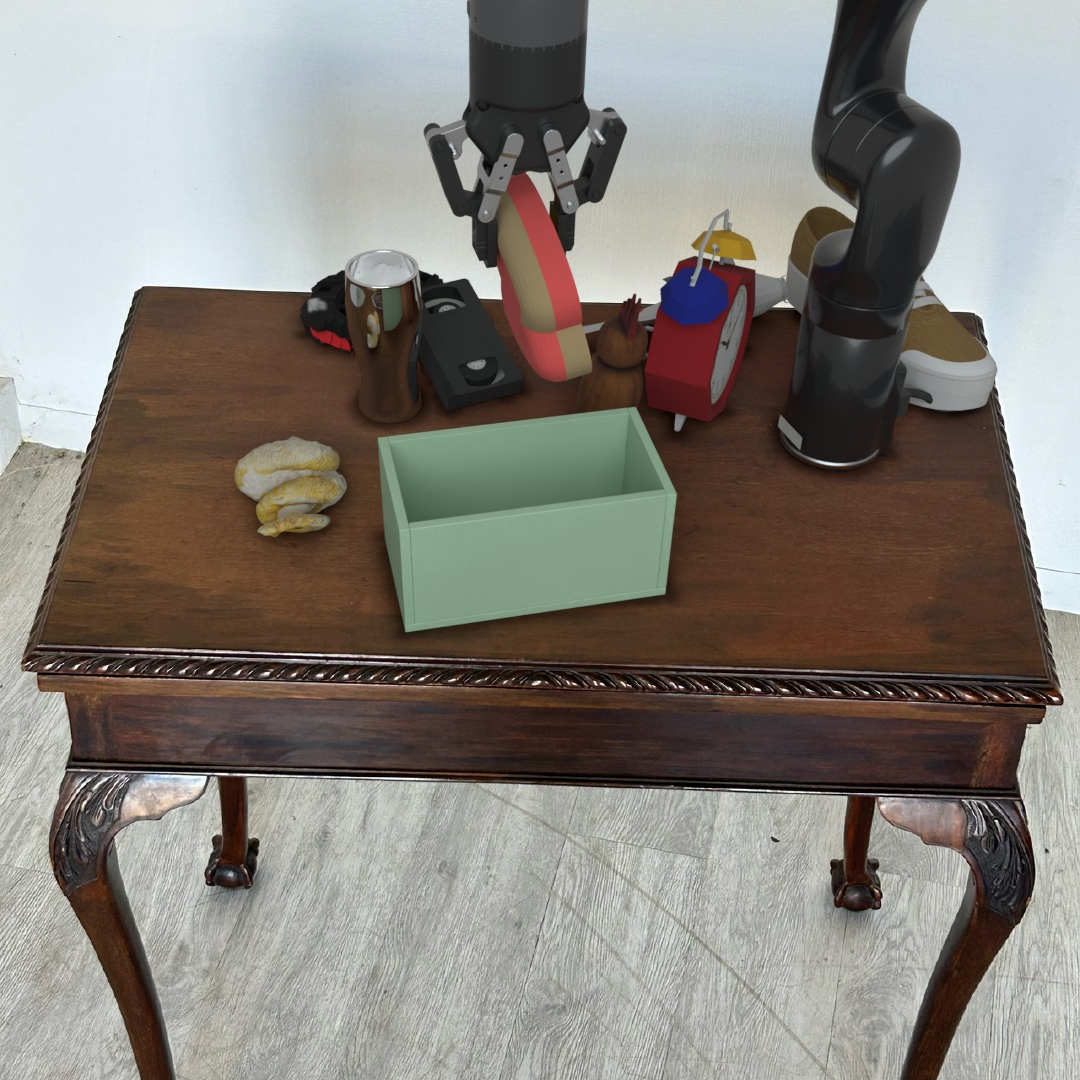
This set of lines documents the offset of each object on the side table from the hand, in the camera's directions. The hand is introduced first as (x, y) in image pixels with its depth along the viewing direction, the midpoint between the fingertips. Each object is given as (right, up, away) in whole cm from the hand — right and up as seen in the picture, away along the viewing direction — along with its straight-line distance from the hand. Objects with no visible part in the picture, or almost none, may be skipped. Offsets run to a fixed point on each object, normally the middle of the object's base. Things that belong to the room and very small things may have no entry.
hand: (523, 257), depth 98 cm
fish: (+17, +3, +38) cm, 42 cm away
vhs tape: (-7, -1, +38) cm, 39 cm away
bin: (0, -22, +17) cm, 28 cm away
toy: (-15, +3, +46) cm, 48 cm away
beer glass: (-13, -7, +34) cm, 37 cm away
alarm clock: (+15, -7, +35) cm, 39 cm away
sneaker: (+36, 0, +43) cm, 56 cm away
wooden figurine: (+7, -9, +32) cm, 34 cm away
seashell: (-21, -17, +23) cm, 35 cm away
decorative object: (+3, -6, -4) cm, 8 cm away
